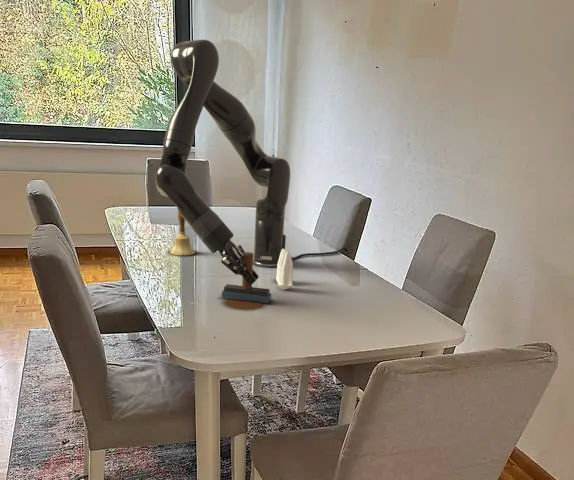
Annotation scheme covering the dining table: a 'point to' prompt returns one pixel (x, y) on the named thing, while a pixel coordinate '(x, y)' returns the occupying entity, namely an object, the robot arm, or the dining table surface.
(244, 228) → the dining table surface
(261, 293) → the sponge wiper
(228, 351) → the dining table surface
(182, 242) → the hand bell
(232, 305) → the brown round coaster
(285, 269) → the shaker set
